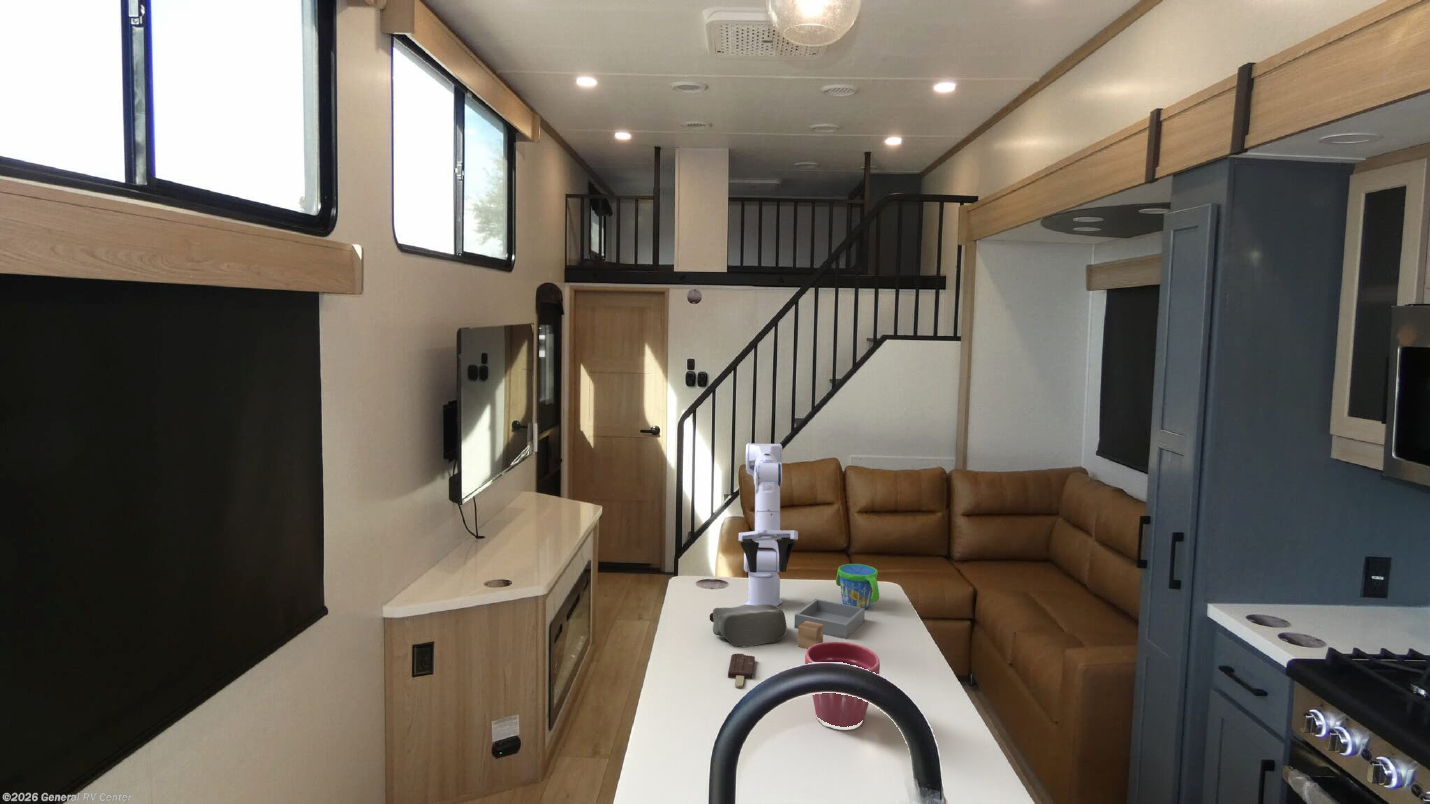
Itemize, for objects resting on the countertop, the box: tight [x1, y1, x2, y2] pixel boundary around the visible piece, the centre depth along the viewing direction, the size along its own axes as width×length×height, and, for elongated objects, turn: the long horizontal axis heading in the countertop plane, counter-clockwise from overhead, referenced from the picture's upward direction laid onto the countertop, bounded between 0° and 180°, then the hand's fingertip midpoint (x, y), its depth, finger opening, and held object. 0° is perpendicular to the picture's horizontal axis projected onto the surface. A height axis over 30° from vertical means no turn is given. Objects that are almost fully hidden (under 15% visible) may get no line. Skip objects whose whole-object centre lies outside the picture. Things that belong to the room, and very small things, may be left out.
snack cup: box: [835, 563, 880, 610], centre depth 215 cm, size 16×10×10 cm
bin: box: [794, 598, 866, 640], centre depth 201 cm, size 14×14×4 cm
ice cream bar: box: [727, 653, 756, 689], centre depth 173 cm, size 5×2×15 cm
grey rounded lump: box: [709, 604, 788, 648], centre depth 193 cm, size 18×11×8 cm, turn 105°
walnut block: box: [797, 621, 824, 649], centre depth 188 cm, size 4×4×5 cm
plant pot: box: [804, 641, 881, 727], centre depth 152 cm, size 14×14×13 cm
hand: (767, 572), depth 183 cm, fingers open, 7 cm apart
